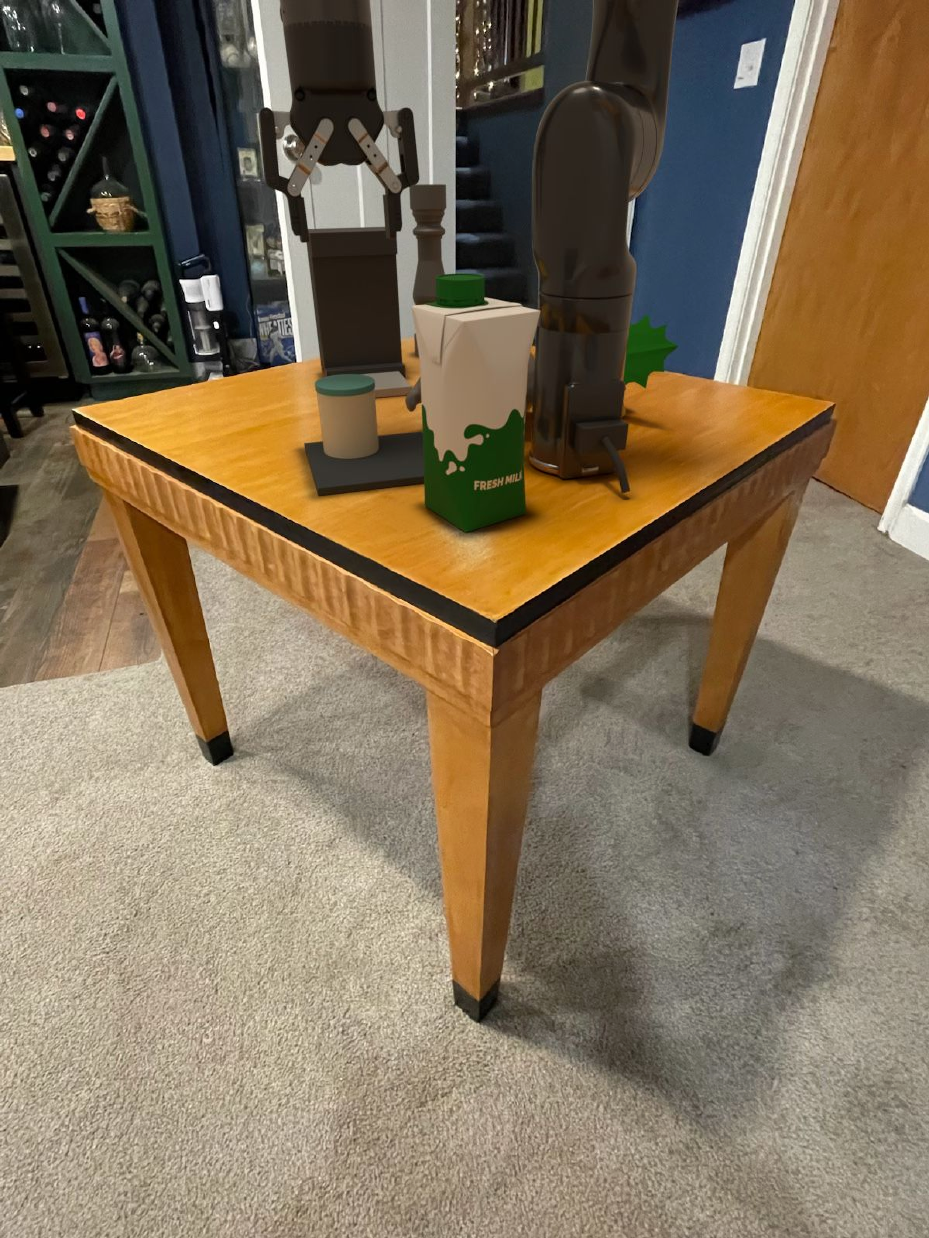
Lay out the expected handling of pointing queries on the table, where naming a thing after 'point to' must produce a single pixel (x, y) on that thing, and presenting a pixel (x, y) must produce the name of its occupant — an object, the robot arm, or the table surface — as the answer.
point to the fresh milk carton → (473, 401)
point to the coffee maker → (358, 305)
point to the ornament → (645, 352)
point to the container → (348, 415)
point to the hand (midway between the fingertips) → (349, 240)
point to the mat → (369, 465)
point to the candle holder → (427, 240)
